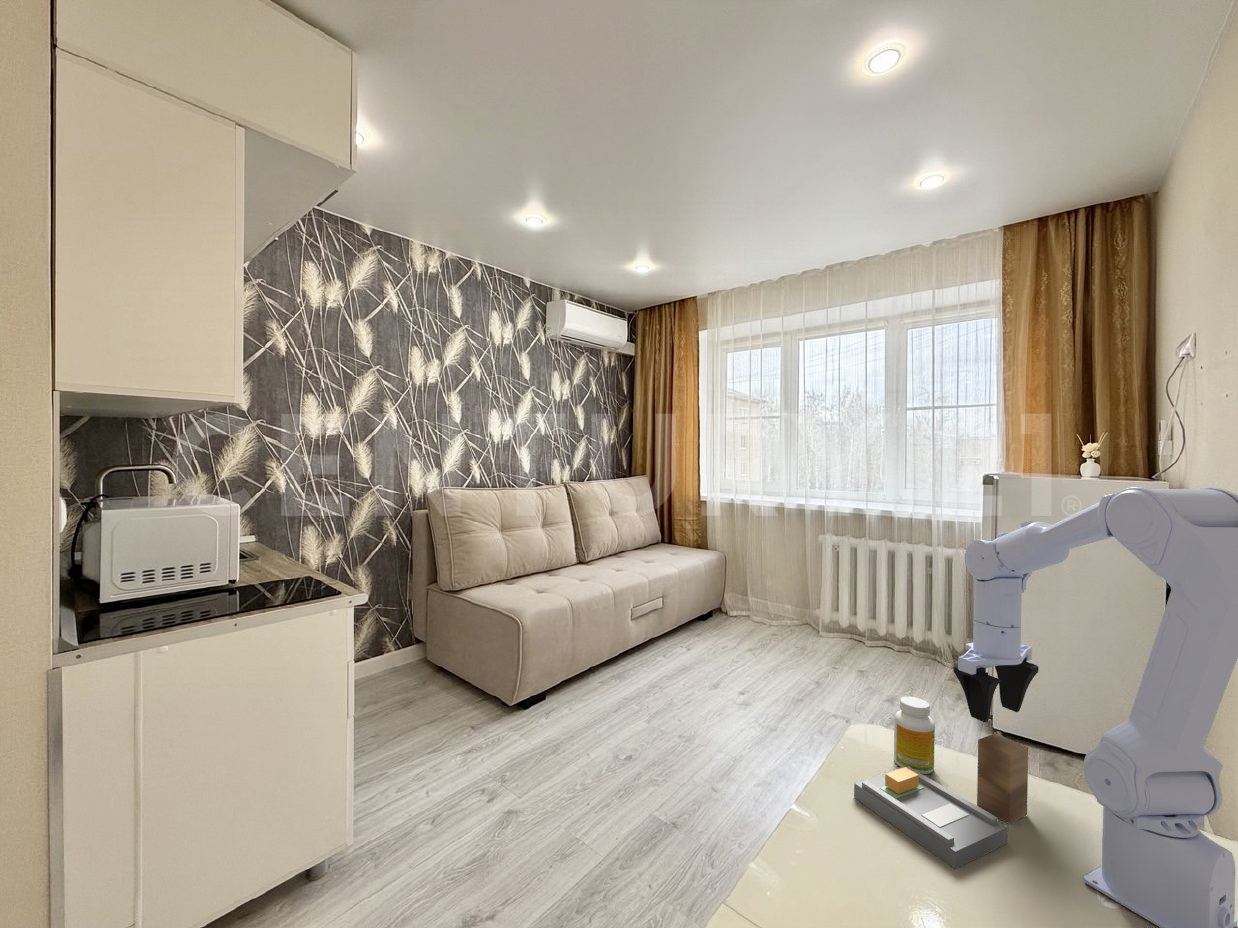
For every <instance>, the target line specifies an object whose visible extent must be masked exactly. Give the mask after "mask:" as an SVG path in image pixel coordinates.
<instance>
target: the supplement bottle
mask: <svg viewBox="0 0 1238 928" xmlns="http://www.w3.org/2000/svg"><path fill="white" fill-rule="evenodd" d="M899 709H900V710H898V711H897V712H895V715H894V736H893V741H894V743H893V760H894V761H895V763H896V764H897V765H898V766H899V768H900V767H903V766H904V767H908V766H909V767H911V768H912V769H914V770H916V771H918V772H919V773H921V774H923V775H926V774H927V775H929V774H931V773H933V772H934V769H935V735H936V734H935V731H936V727H935V721H934V720H933V719H932V718H931V716H930V711H931V708H930V703H929V702H928V701H926V700H925V699H921V698H918V697H916V696H915V697H914V696H902V697H900V699H899Z"/></svg>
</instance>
